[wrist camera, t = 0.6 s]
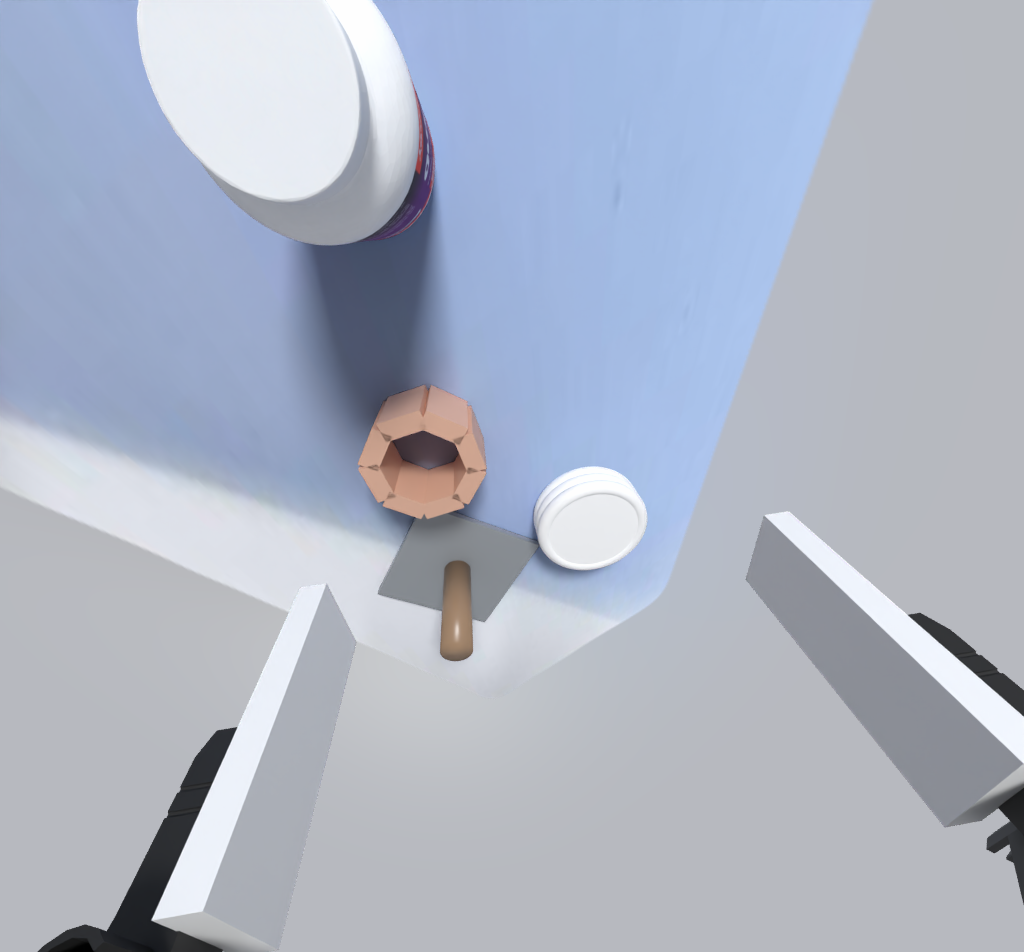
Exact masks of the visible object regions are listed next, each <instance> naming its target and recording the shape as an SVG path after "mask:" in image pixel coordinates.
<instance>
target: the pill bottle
mask: <svg viewBox="0 0 1024 952" xmlns="http://www.w3.org/2000/svg"><path fill="white" fill-rule="evenodd" d="M137 26H138V35H139V44H140V49H141V55H142V60H143V63H144V66H145V70H146V73H147V76H148V79H149V82H150V84H151V87H152V90H153V92H154V94H155V96H156V98H157V101H158V103H159V105H160V107H161V109H162V111H163V113H164V114H165V116H166V118H167V120H168V121H169V123H170V125H171V126H172V128H173V129H174V131H175V132H176V134H177V135H178V136H179V138H180V139H181V140H182V141H183V143H184V144H185V145H186V146H187V148H188V149H189V150H190V151H191V152H192V153H193V154H194V156H195V157H196V158H197V159H198V160H199V161H200V162H201V164H202V165H203V167H204V168H205V170H206V171H207V172H208V174H209V175H210V176H211V178H212V179H213V180H214V181H215V182H216V184H217V185H218V186H219V187H220V188H221V189H222V191H223V192H224V193H225V194H226V195H227V196H228V197H229V198H230V199H231V200H232V201H233V202H234V203H235V204H236V205H237V206H238V207H240V208H241V209H242V210H243V211H244V212H245V213H247V214H248V215H249V216H251V217H252V218H253V219H255V220H256V221H258V222H259V223H261V224H262V225H264V226H265V227H267V228H269V229H271V230H273V231H275V232H277V233H279V234H281V235H283V236H285V237H288V238H291V239H294V240H296V241H300V242H304V243H308V244H315V245H342V244H349V243H355V242H363V241H371V240H381V239H386V238H390V237H393V236H395V235H398V234H400V233H401V232H403V231H405V230H406V229H408V228H409V227H410V226H411V225H412V224H413V223H414V222H415V221H416V220H417V219H418V218H419V216H420V215H421V214H422V212H423V210H424V209H425V207H426V205H427V203H428V200H429V198H430V195H431V192H432V188H433V183H434V176H435V156H434V147H433V142H432V138H431V134H430V130H429V127H428V124H427V121H426V118H425V116H424V113H423V111H422V108H421V104H420V102H419V99H418V96H417V93H416V91H415V88H414V85H413V82H412V79H411V76H410V73H409V70H408V68H407V65H406V62H405V60H404V57H403V55H402V52H401V50H400V48H399V45H398V43H397V41H396V39H395V37H394V35H393V33H392V31H391V29H390V28H389V26H388V24H387V22H386V21H385V19H384V17H383V16H382V14H381V13H380V11H379V10H378V8H377V7H376V5H375V4H374V3H373V1H372V0H139V3H138V8H137Z"/></svg>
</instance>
